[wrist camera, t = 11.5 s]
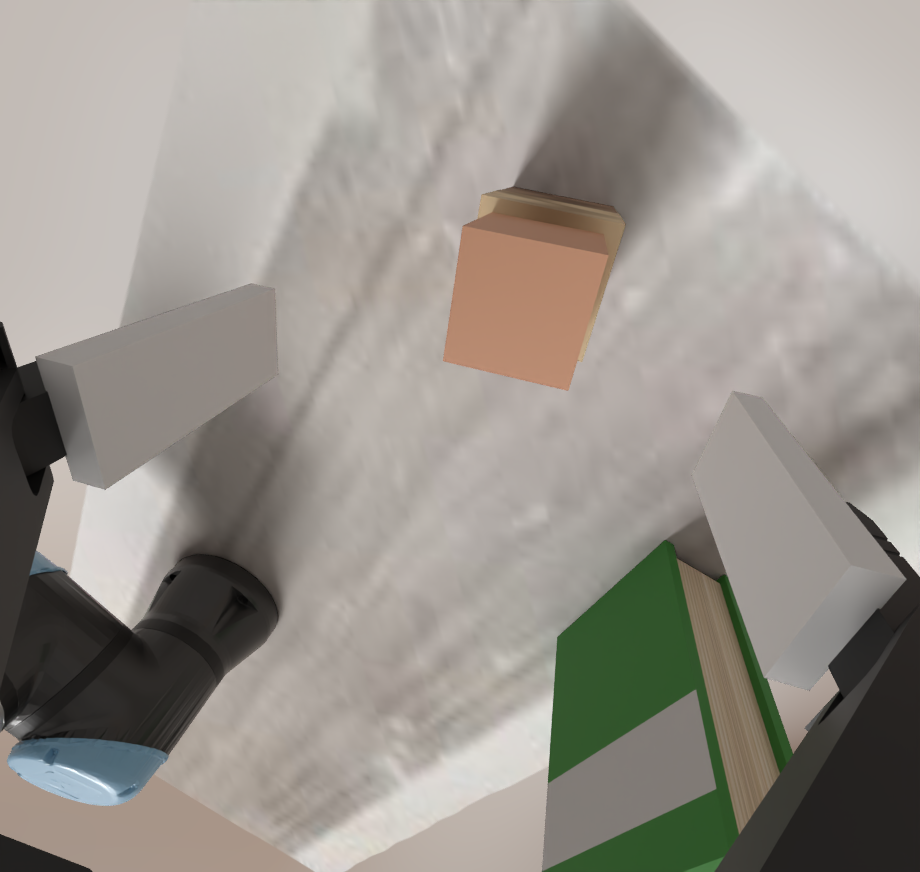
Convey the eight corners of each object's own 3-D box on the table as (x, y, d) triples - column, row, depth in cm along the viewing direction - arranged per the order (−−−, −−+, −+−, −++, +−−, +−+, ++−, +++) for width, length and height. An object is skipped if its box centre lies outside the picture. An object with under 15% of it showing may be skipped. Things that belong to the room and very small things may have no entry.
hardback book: (665, 539, 45) (730, 854, 24) (732, 579, 45) (851, 921, 25) (557, 637, 54) (538, 925, 33) (613, 669, 54) (629, 973, 34)
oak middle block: (478, 305, 32) (458, 332, 27) (500, 189, 29) (481, 194, 24) (583, 330, 32) (582, 362, 26) (618, 213, 28) (625, 224, 23)
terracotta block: (473, 320, 27) (442, 361, 21) (492, 212, 24) (462, 225, 18) (572, 343, 26) (568, 390, 20) (603, 234, 23) (608, 255, 18)
